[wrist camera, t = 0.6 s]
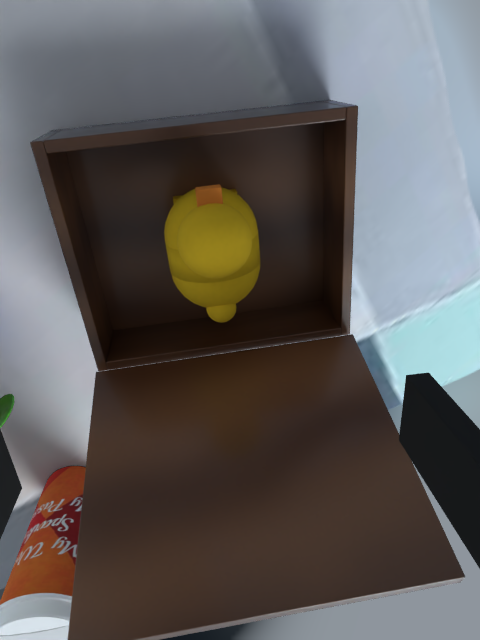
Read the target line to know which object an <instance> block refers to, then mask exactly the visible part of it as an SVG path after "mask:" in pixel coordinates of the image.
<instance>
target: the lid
mask: <svg viewBox="0 0 480 640" xmlns="http://www.w3.org/2000/svg"><path fill="white" fill-rule="evenodd" d="M464 578H465V575H464V573H463V571H462V569H461V567H460V564H459V562H458V560H457V559H456V556H455V554H454V551H453V549H452V547H451V545H450V543H449V541H448V539H447V536H446V534H445V532H444V530H443V528H442V526H441V523H440V521H439V519H438V517H437V515H436V513H435V511H434V508H433V506H432V504H431V502H430V500H429V498H428V496H427V493H426V491H425V489H424V487H423V485H422V483H421V480H420V478H419V476H418V474H417V472H416V470H415V468H414V465H413V463H412V461H411V459H410V457H409V456H408V454H407V453H406V451H405V449H404V448H403V446H402V445H401V443H400V441H399V433H398V431H397V429H396V427H395V425H394V423H393V420H392V418H391V416H390V414H389V412H388V409H387V407H386V405H385V403H384V401H383V399H382V397H381V394H380V392H379V390H378V388H377V386H376V384H375V381H374V379H373V377H372V375H371V373H370V371H369V369H368V366H367V364H366V362H365V360H364V358H363V356H362V353H361V351H360V349H359V347H358V345H357V343H356V341H355V338H354V336H353V335H345V336H338V337H332V338H325V339H318V340H311V341H304V342H298V343H291V344H284V345H277V346H270V347H264V348H257V349H250V350H243V351H236V352H230V353H223V354H216V355H209V356H202V357H196V358H189V359H182V360H175V361H168V362H161V363H155V364H148V365H141V366H134V367H127V368H121V369H114V370H107V371H100V372H96V377H95V387H94V396H93V405H92V415H91V424H90V433H89V443H88V452H87V462H86V471H85V480H84V490H83V499H82V509H81V518H80V527H79V537H78V546H77V555H76V565H75V574H74V584H73V593H72V602H71V612H70V621H69V631H68V640H159V639H165V638H169V637H175V636H180V635H185V634H191V633H196V632H201V631H206V630H212V629H217V628H223V627H228V626H233V625H238V624H244V623H249V622H254V621H260V620H265V619H270V618H276V617H281V616H286V615H291V614H297V613H302V612H307V611H313V610H318V609H323V608H328V607H334V606H339V605H344V604H349V603H355V602H360V601H365V600H370V599H376V598H381V597H386V596H392V595H397V594H402V593H408V592H413V591H418V590H423V589H428V588H434V587H439V586H445V585H450V584H455V583H460V582H461V581H462V580H463V579H464Z"/></svg>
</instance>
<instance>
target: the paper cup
mask: <svg viewBox="0 0 480 640" xmlns="http://www.w3.org/2000/svg"><path fill="white" fill-rule="evenodd" d="M85 471H86V467H82V466H69V467H64V468H61V469H59V470H57V471H55V472H54V473H53V474H52V475H51V476H50V477H49V479H48V480H47V482H46V485H45V487H44V489H43V492H42V494H41V497H40V499H39V502H38V504H37V507H36V509H35V512H34V515H33V517H32V520H31V522H30V525H29V527H28V530H27V533H26V535H25V538H24V540H23V543H22V546H21V548H20V551H19V554H18V556H17V559H16V561H15V564H14V567H13V569H12V572H11V574H10V577H9V580H8V582H7V585H6V588H5V590H4V593H3V596H2V598H1V601H0V640H68V631H69V621H70V612H71V602H72V593H73V584H74V574H75V565H76V555H77V546H78V537H79V527H80V518H81V509H82V499H83V490H84V480H85Z"/></svg>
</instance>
